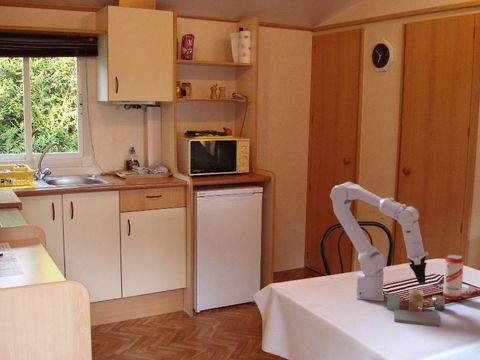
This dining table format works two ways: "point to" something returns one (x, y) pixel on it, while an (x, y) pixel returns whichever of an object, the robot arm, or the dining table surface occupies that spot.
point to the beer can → (453, 277)
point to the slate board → (416, 317)
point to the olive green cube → (393, 301)
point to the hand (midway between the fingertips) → (421, 280)
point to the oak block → (415, 300)
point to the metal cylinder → (438, 303)
